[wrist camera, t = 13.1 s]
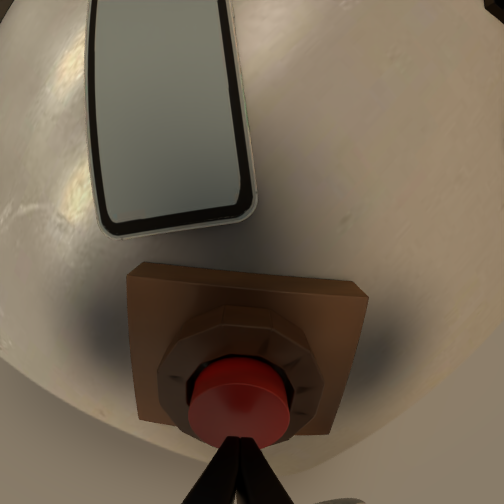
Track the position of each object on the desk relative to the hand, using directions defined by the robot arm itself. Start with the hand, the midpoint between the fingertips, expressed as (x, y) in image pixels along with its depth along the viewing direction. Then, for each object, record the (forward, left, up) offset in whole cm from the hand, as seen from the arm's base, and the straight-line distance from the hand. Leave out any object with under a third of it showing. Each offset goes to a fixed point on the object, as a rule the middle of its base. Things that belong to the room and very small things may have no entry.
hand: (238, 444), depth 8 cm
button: (0, 0, -3) cm, 3 cm away
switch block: (0, 0, -6) cm, 6 cm away
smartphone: (+5, -13, -6) cm, 15 cm away
